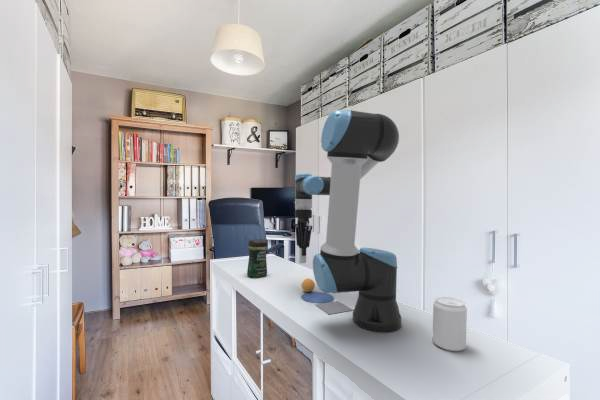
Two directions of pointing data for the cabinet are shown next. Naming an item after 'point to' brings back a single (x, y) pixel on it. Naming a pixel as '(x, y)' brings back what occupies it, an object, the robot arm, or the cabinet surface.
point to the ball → (308, 285)
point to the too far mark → (333, 307)
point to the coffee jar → (257, 258)
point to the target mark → (317, 297)
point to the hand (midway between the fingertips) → (302, 262)
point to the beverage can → (449, 323)
